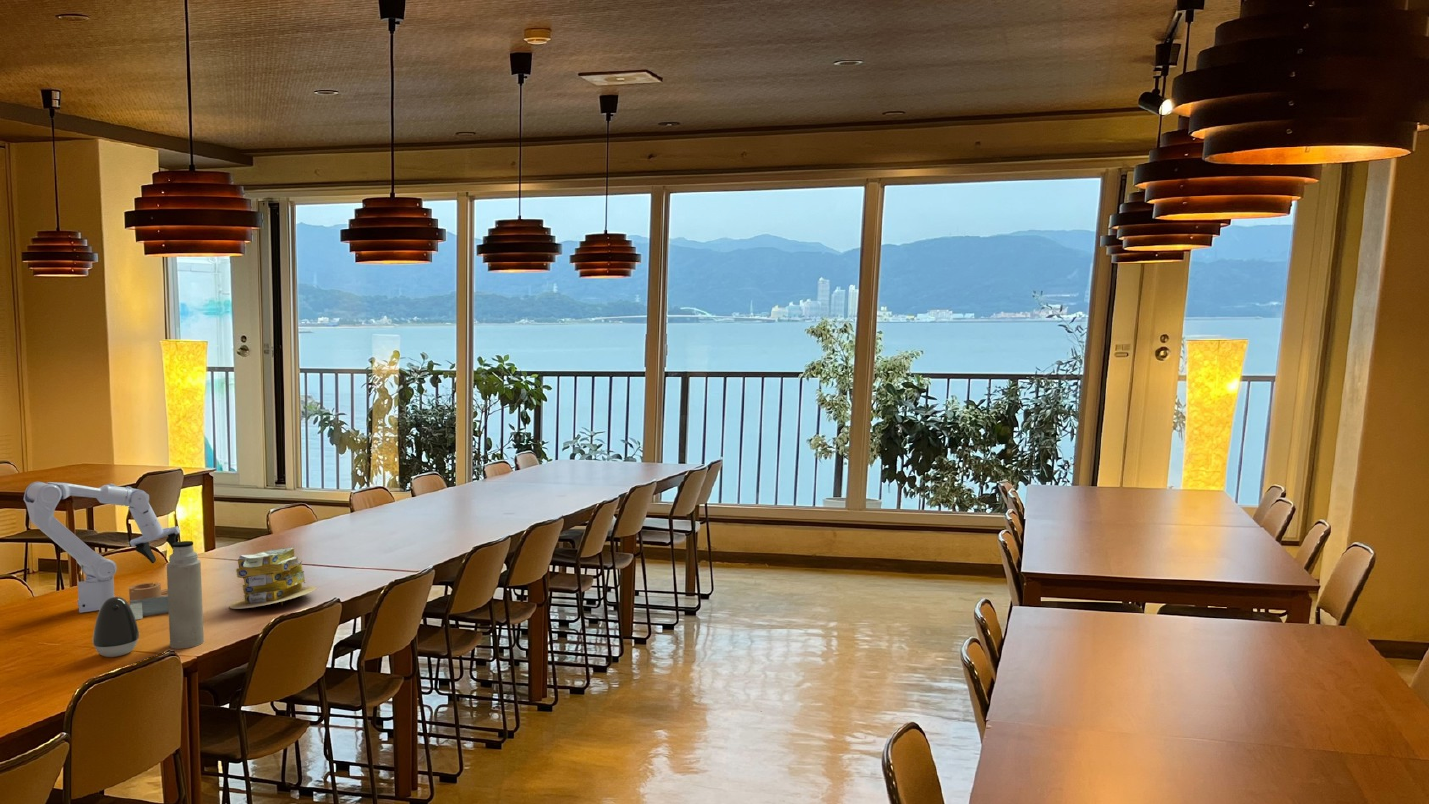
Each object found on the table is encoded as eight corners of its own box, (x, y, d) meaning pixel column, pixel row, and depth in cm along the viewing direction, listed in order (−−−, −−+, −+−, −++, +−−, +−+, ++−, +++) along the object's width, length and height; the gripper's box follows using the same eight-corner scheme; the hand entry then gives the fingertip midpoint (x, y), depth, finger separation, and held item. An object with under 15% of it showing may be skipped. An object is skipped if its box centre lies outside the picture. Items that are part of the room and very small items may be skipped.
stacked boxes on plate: (210, 610, 282) (208, 556, 281) (272, 589, 306) (270, 539, 305) (275, 617, 275) (273, 562, 274) (333, 595, 298) (332, 544, 297)
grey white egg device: (94, 663, 235) (91, 605, 234) (92, 652, 244) (90, 596, 243) (141, 655, 241) (138, 598, 240) (138, 644, 250) (135, 589, 249)
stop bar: (130, 620, 272) (129, 603, 271) (130, 616, 275) (129, 600, 275) (196, 611, 281) (195, 594, 281) (195, 607, 285) (194, 591, 284)
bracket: (144, 612, 280) (143, 590, 280) (123, 610, 283) (122, 588, 282) (193, 597, 298) (192, 576, 297) (172, 595, 300) (172, 574, 299)
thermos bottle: (180, 639, 254) (175, 539, 252) (209, 638, 254) (205, 538, 253) (163, 648, 246) (159, 545, 244) (194, 648, 246) (189, 545, 245)
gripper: (174, 510, 300) (192, 545, 306) (128, 524, 298) (147, 559, 303) (168, 519, 294) (186, 555, 299) (120, 533, 292) (140, 569, 297)
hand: (166, 558), depth 301 cm, fingers open, 7 cm apart
